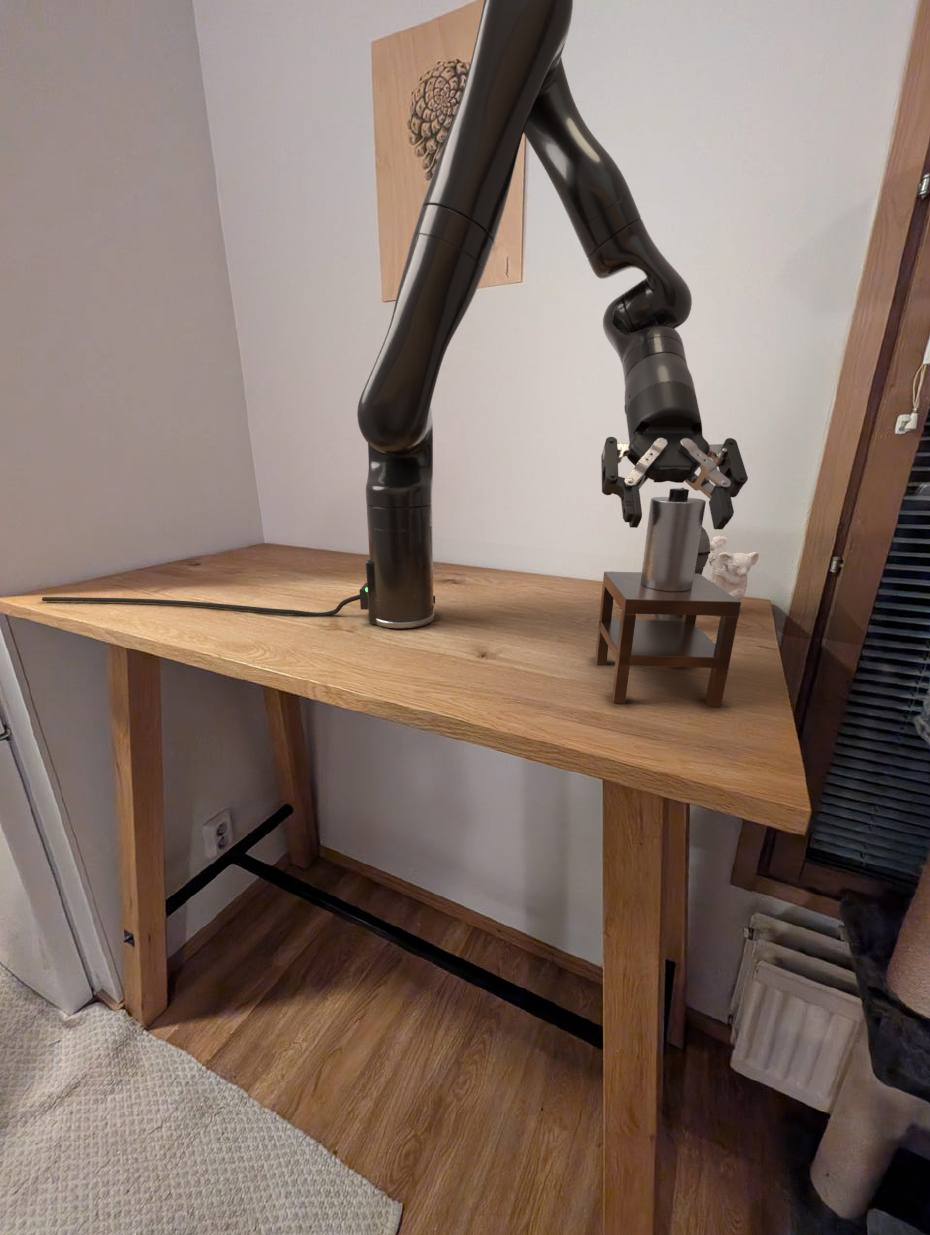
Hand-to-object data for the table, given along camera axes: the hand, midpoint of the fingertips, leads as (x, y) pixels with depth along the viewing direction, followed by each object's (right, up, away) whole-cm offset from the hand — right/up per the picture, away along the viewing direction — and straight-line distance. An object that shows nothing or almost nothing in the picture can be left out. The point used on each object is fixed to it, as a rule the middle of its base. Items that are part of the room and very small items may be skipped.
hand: (679, 524), depth 52 cm
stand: (0, -17, +7) cm, 18 cm away
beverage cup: (+9, -11, +25) cm, 29 cm away
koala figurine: (+19, -8, +32) cm, 38 cm away
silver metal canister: (0, -6, +4) cm, 7 cm away
